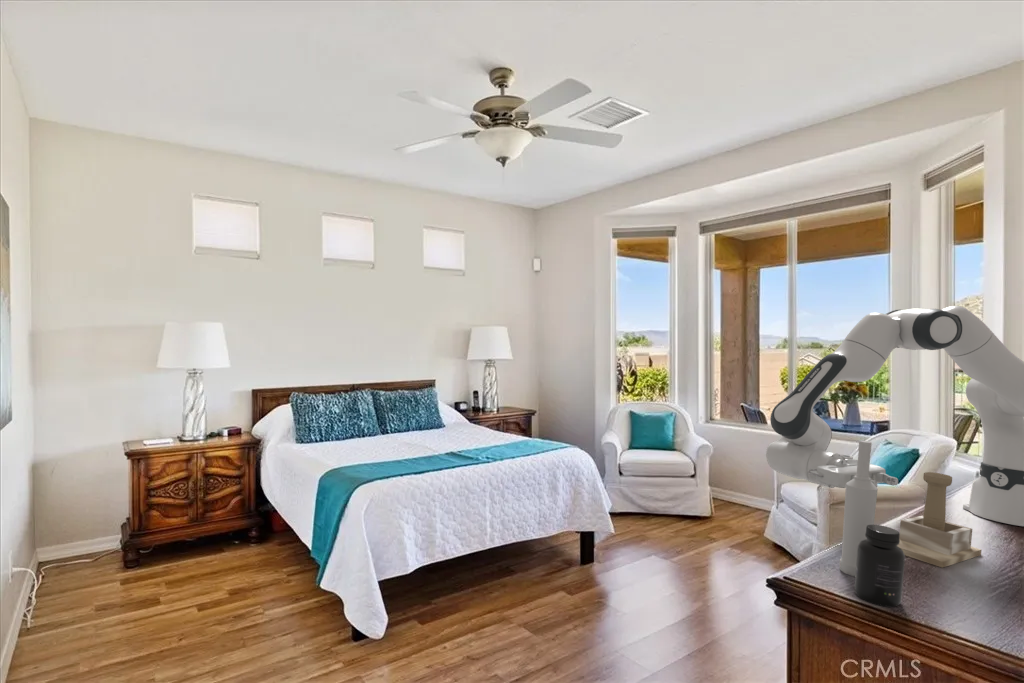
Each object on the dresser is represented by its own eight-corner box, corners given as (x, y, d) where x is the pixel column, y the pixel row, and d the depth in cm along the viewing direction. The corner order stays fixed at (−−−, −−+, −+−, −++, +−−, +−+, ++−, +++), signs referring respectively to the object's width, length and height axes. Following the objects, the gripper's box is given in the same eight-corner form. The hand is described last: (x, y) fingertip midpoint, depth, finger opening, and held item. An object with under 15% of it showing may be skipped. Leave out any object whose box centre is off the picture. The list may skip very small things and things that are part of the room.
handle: (948, 543, 126) (954, 476, 126) (942, 550, 122) (948, 479, 122) (922, 537, 130) (928, 471, 129) (915, 542, 125) (921, 474, 125)
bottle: (847, 576, 106) (858, 443, 106) (833, 565, 112) (844, 437, 111) (876, 579, 106) (887, 445, 106) (860, 568, 111) (871, 440, 111)
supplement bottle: (845, 587, 102) (851, 520, 101) (885, 591, 101) (891, 523, 101) (867, 606, 95) (873, 534, 94) (910, 610, 94) (916, 537, 94)
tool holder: (918, 536, 134) (920, 512, 134) (981, 555, 124) (983, 529, 124) (878, 546, 125) (880, 521, 125) (942, 567, 115) (944, 540, 115)
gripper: (805, 458, 141) (863, 473, 129) (850, 455, 151) (908, 467, 139) (802, 484, 141) (861, 500, 129) (848, 478, 151) (906, 493, 139)
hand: (886, 483), depth 134 cm, fingers open, 8 cm apart
